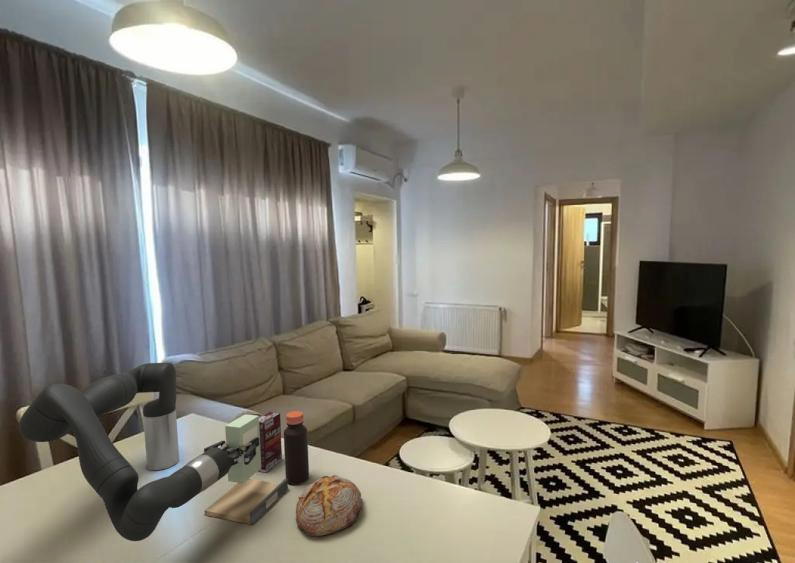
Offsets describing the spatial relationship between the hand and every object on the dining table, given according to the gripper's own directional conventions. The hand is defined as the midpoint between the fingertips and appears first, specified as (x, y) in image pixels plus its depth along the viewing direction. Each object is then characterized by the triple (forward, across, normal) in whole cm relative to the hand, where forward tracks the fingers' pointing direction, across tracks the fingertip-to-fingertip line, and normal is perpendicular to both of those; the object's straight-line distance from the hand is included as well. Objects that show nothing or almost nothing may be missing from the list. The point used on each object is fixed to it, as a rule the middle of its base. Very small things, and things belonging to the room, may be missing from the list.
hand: (250, 439), depth 115 cm
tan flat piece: (-2, 0, -16) cm, 16 cm away
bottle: (+11, +8, -16) cm, 21 cm away
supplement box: (+16, -6, -16) cm, 24 cm away
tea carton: (-3, 0, -8) cm, 9 cm away
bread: (-1, +24, -17) cm, 30 cm away
